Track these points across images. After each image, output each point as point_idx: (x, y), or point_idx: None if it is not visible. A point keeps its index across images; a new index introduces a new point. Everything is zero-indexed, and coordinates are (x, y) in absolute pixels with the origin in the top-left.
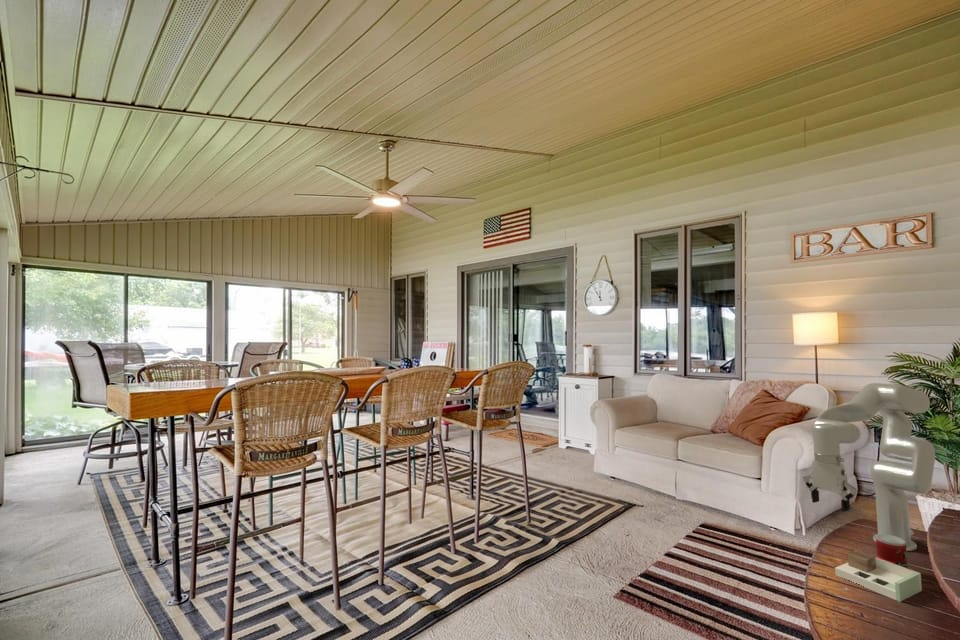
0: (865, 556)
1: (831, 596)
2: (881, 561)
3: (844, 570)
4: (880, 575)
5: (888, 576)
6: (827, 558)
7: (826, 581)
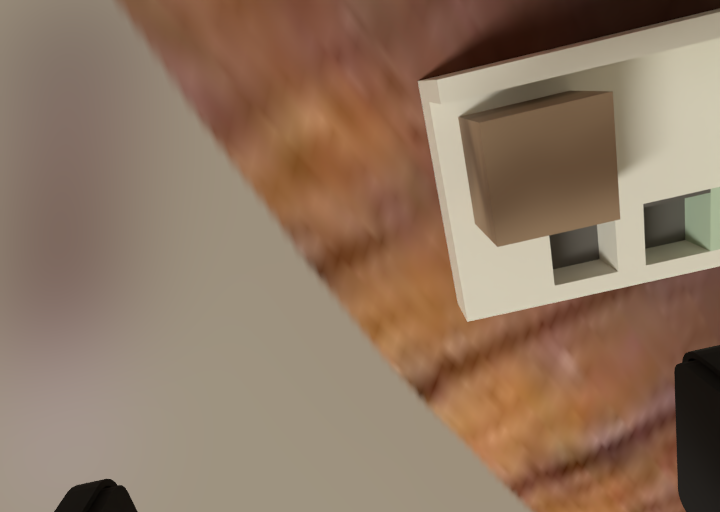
0: (577, 160)
1: (585, 469)
2: (623, 58)
3: (509, 298)
4: (636, 153)
5: (665, 117)
6: (285, 172)
7: (486, 392)
